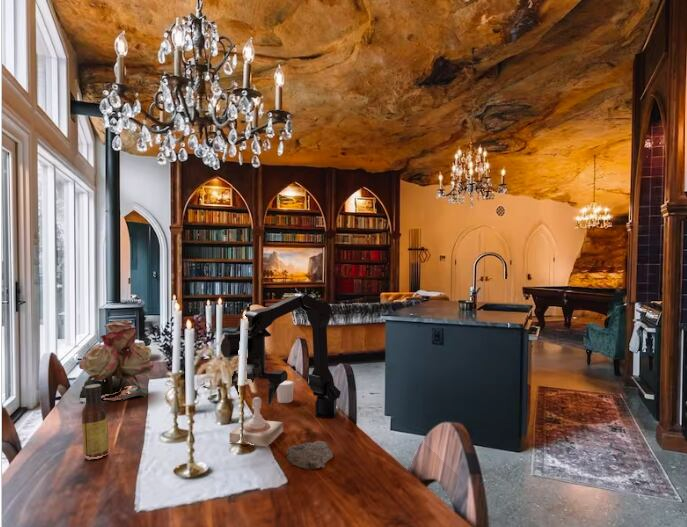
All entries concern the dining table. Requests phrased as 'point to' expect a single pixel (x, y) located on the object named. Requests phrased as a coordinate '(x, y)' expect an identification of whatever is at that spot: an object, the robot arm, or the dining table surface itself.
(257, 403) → the chess pawn
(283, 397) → the shot glass
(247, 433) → the plinth
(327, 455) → the stone slab
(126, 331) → the rose bouquet
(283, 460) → the dining table surface
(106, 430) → the sauce bottle
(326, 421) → the dining table surface
